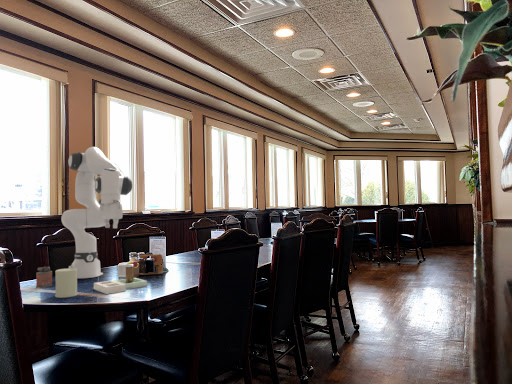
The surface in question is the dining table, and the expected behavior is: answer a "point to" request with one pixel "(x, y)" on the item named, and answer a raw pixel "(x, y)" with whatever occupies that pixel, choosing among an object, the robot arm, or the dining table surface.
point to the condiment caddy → (157, 264)
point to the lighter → (44, 277)
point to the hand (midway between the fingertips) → (111, 228)
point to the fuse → (129, 273)
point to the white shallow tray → (109, 287)
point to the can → (66, 282)
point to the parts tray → (135, 283)
